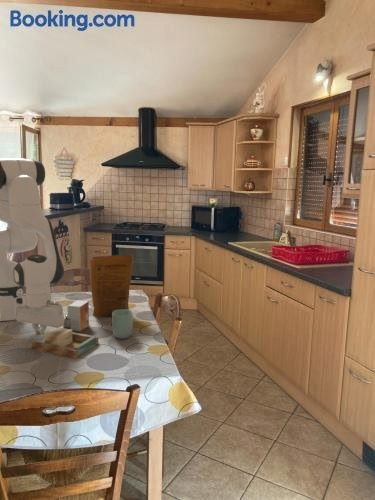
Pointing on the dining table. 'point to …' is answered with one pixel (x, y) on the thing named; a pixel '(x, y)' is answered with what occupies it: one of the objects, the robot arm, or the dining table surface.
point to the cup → (122, 323)
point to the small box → (79, 315)
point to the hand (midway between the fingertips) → (40, 335)
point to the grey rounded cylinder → (67, 322)
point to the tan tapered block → (59, 337)
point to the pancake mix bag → (110, 283)
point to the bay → (69, 352)
